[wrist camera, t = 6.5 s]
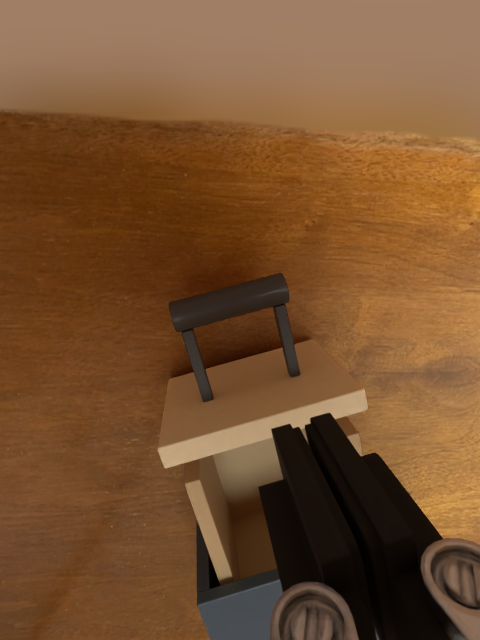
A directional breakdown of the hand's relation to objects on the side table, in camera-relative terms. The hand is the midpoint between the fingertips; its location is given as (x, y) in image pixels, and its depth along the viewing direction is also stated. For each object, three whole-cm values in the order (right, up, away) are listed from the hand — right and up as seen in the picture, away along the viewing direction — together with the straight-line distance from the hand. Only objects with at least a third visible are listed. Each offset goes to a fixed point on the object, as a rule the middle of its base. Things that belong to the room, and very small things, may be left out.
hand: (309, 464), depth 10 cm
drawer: (-1, -2, +15) cm, 16 cm away
